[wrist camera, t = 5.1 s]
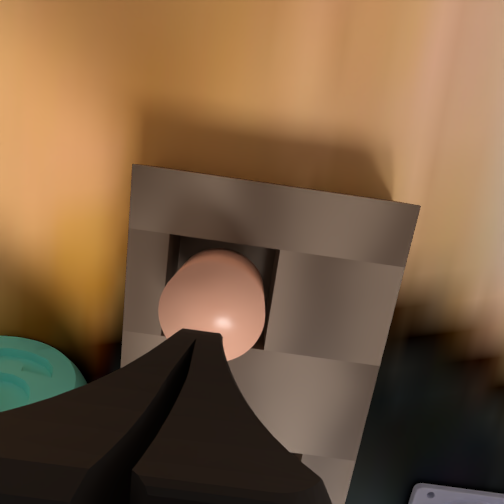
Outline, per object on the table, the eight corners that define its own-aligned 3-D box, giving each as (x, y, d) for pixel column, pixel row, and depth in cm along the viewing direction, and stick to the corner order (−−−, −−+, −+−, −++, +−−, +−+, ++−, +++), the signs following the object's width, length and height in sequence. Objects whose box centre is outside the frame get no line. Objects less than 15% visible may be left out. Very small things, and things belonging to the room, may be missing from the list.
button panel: (393, 201, 18) (421, 205, 15) (320, 509, 22) (330, 560, 19) (153, 166, 17) (132, 163, 14) (130, 484, 22) (110, 531, 19)
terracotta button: (270, 254, 16) (272, 270, 13) (257, 337, 17) (256, 369, 14) (179, 241, 16) (162, 255, 13) (171, 326, 17) (154, 355, 14)
